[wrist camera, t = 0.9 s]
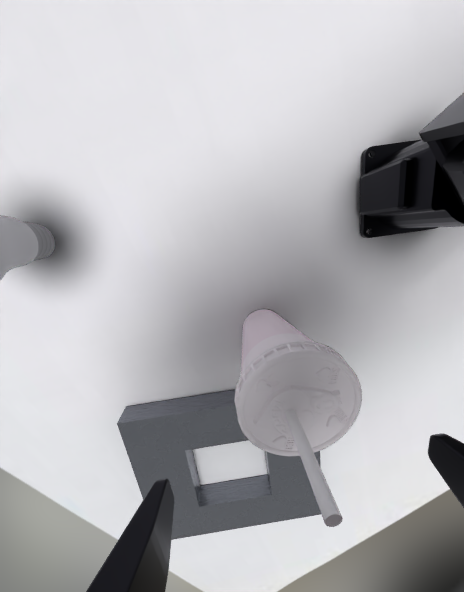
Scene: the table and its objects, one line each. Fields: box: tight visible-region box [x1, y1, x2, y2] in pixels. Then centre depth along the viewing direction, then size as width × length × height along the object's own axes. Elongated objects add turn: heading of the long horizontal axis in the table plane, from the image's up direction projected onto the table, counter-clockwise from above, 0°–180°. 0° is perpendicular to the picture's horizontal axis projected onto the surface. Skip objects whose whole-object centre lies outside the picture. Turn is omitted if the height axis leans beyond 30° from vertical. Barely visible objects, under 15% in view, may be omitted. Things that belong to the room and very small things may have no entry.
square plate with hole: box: [117, 390, 321, 540], centre depth 23 cm, size 18×16×2 cm
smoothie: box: [234, 309, 362, 527], centre depth 14 cm, size 6×6×14 cm
